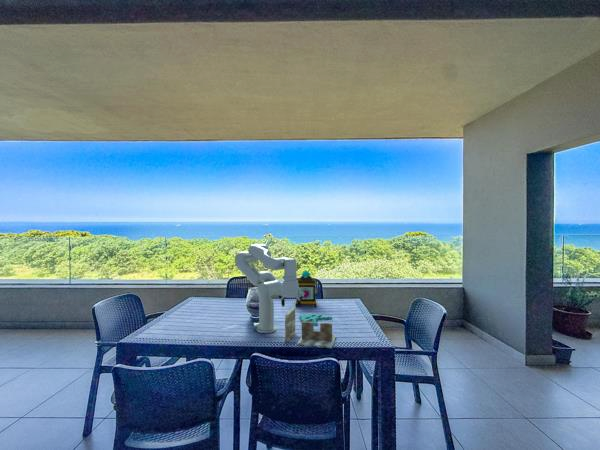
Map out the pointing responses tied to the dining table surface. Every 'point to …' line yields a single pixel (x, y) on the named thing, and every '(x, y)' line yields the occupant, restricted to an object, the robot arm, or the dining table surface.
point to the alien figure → (313, 318)
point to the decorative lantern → (307, 289)
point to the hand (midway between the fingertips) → (291, 306)
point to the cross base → (317, 343)
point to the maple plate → (289, 325)
